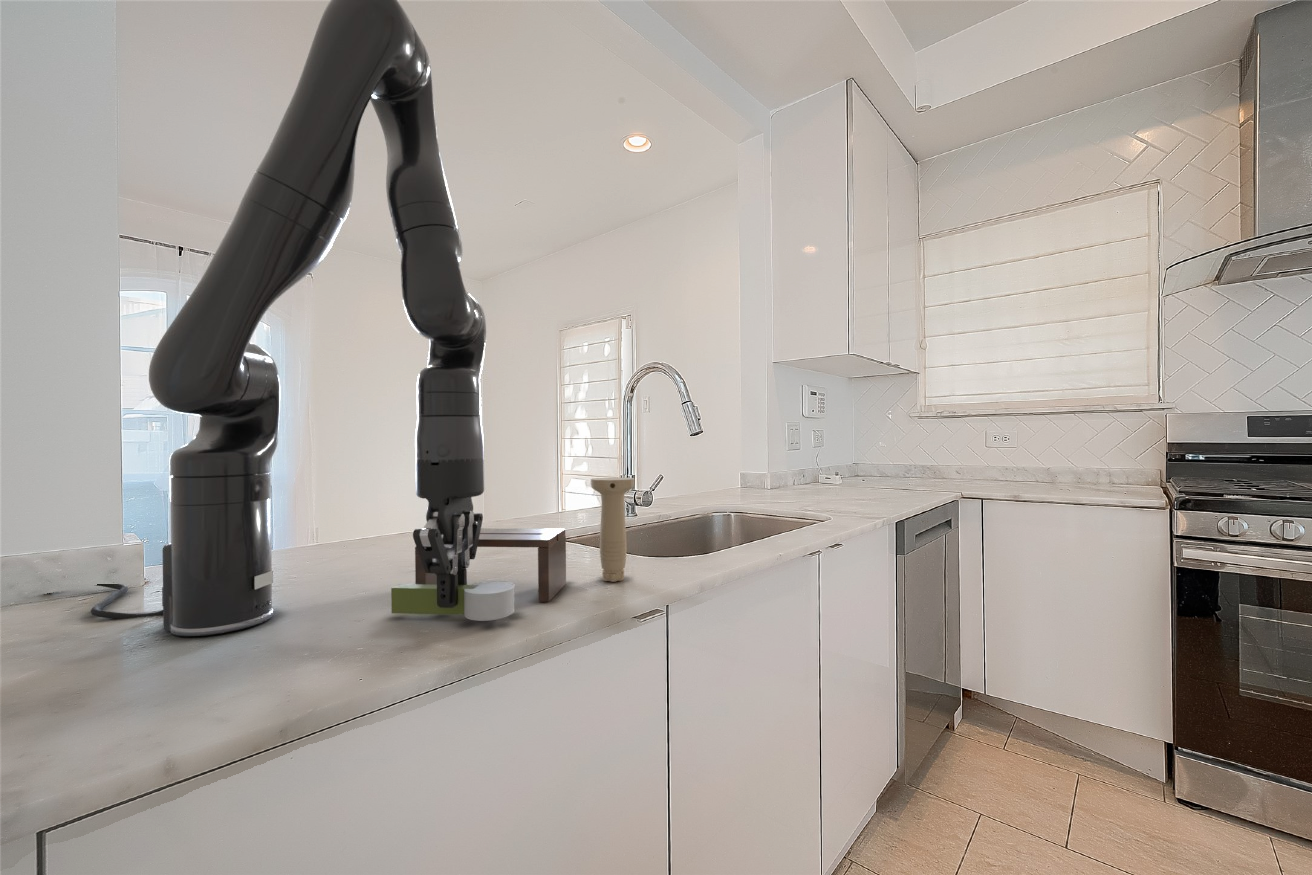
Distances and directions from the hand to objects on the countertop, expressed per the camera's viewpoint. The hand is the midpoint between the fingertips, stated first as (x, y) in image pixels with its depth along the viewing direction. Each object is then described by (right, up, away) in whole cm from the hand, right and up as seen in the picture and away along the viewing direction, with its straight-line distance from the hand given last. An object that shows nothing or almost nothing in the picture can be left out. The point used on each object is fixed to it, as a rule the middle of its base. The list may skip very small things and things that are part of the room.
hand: (452, 602), depth 66 cm
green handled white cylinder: (0, -1, 0) cm, 1 cm away
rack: (+1, -2, +12) cm, 12 cm away
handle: (+18, -2, +17) cm, 25 cm away
